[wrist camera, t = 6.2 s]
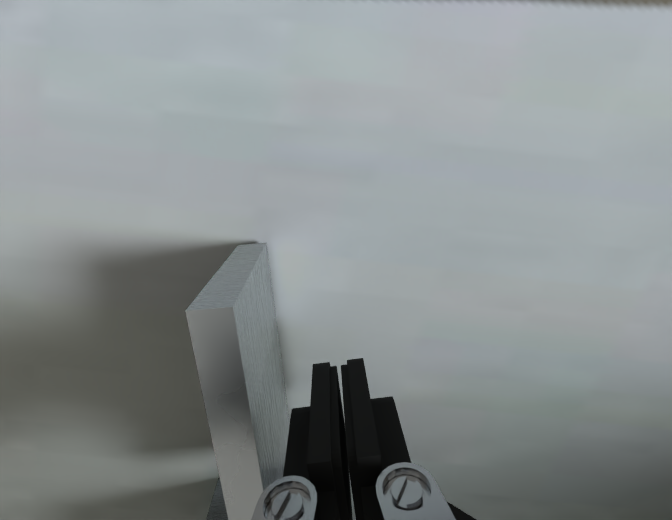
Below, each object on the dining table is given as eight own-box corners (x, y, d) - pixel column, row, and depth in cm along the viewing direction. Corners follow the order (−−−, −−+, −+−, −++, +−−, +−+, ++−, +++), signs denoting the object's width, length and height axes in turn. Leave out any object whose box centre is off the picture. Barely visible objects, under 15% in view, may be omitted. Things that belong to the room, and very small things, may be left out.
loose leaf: (266, 242, 13) (232, 306, 8) (291, 445, 16) (280, 596, 10) (238, 244, 13) (185, 310, 8) (268, 447, 16) (245, 600, 10)
